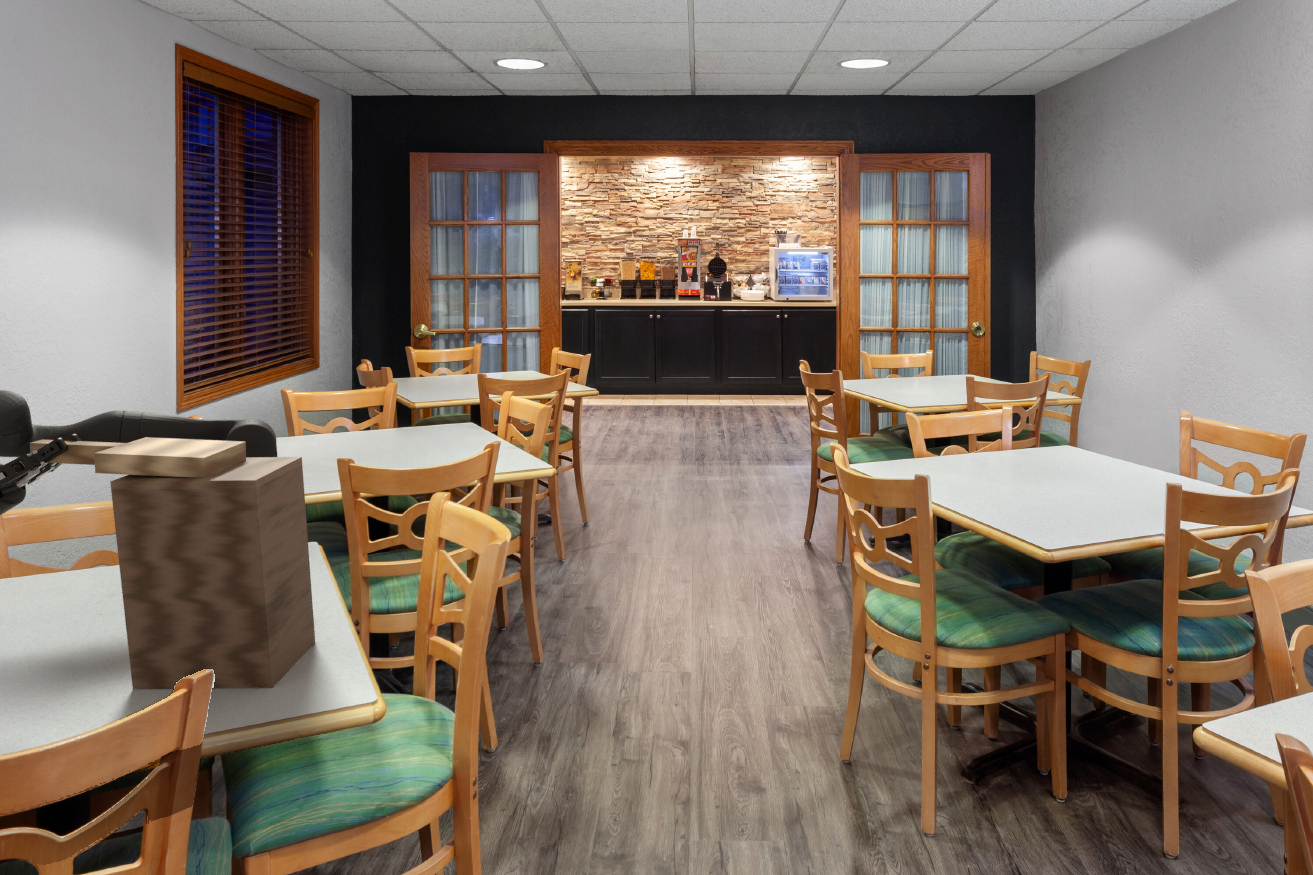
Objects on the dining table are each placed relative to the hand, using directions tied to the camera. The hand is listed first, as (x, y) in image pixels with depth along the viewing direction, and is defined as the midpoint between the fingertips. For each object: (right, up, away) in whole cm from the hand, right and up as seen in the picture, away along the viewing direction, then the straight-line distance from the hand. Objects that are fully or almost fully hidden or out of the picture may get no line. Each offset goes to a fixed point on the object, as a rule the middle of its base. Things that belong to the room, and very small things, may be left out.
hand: (71, 441), depth 142 cm
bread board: (+9, -4, +1) cm, 10 cm away
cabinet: (+22, -36, +6) cm, 42 cm away
